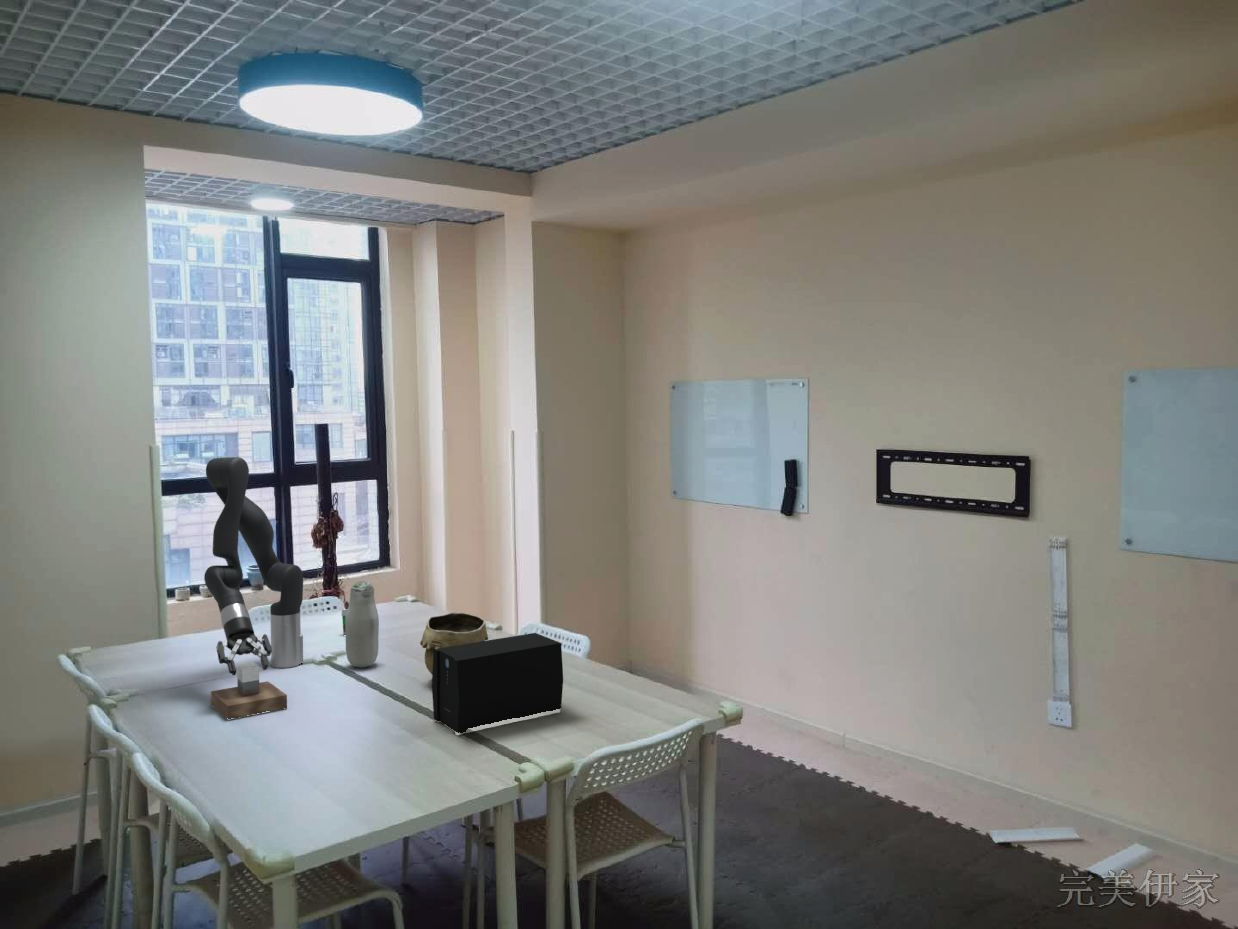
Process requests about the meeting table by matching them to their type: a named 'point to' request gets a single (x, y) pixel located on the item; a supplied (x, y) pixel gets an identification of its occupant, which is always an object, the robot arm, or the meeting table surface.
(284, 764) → the meeting table surface
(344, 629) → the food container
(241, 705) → the walnut stand
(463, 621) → the clay pot
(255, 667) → the block
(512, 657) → the uninterruptible power supply
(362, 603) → the grey bottle
